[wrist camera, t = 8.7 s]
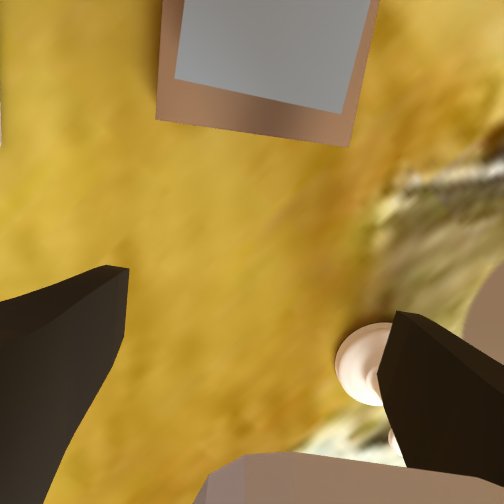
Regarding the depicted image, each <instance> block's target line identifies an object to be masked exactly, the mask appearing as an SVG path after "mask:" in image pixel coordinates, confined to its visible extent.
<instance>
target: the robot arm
mask: <svg viewBox="0 0 504 504" xmlns="http://www.w3.org/2000/svg"><path fill="white" fill-rule="evenodd" d="M0 147H1V103H0ZM128 280H129V268H122V267H116V266H110V265H104V266H100V267H97V268H94V269H91V270H89V271H86V272H84V273H81V274H79V275H76V276H74V277H71V278H69V279H66V280H64V281H61V282H59V283H56V284H54V285H51V286H48V287H45V288H42V289H39V290H36V291H33V292H31V293H28V294H25V295H22V296H19V297H15V298H12V299H8V300H5V301H1V302H0V504H43V502H44V500H45V497H46V495H47V493H48V490H49V488H50V485H51V483H52V481H53V479H54V476H55V474H56V472H57V469H58V467H59V465H60V462H61V460H62V458H63V455H64V453H65V451H66V449H67V447H68V445H69V443H70V441H71V439H72V437H73V435H74V433H75V432H76V430H77V428H78V426H79V425H80V423H81V421H82V419H83V418H84V416H85V414H86V412H87V411H88V409H89V407H90V405H91V403H92V402H93V400H94V398H95V396H96V395H97V393H98V391H99V389H100V388H101V386H102V384H103V382H104V381H105V379H106V377H107V375H108V373H109V372H110V370H111V368H112V366H113V363H114V361H115V358H116V356H117V353H118V351H119V348H120V346H121V343H122V340H123V338H124V330H125V318H126V305H127V293H128ZM377 379H378V384H379V389H380V394H381V398H382V402H383V406H384V409H385V412H386V415H387V417H388V420H389V422H390V425H391V428H392V430H393V433H394V436H395V438H396V441H397V443H398V446H399V448H400V451H401V454H402V456H403V459H404V461H405V464H406V466H407V468H406V467H399V466H391V465H384V464H377V463H370V462H363V461H356V460H349V459H341V458H334V457H327V456H320V455H313V454H306V453H298V452H291V451H290V452H274V453H259V454H246V455H244V456H242V457H240V458H238V459H236V460H234V461H233V462H231V463H229V464H227V465H225V466H224V467H222V468H220V469H218V470H216V471H214V472H213V473H211V474H209V475H208V477H207V479H206V481H205V483H204V484H203V486H202V488H201V490H200V492H199V493H198V495H197V497H196V499H195V500H194V502H193V504H504V365H502V364H501V363H499V362H497V361H496V360H494V359H492V358H491V357H489V356H488V355H486V354H484V353H483V352H481V351H479V350H478V349H476V348H475V347H473V346H472V345H470V344H469V343H467V342H465V341H464V340H462V339H461V338H459V337H458V336H456V335H455V334H453V333H451V332H450V331H448V330H447V329H445V328H444V327H442V326H440V325H439V324H437V323H435V322H434V321H432V320H430V319H428V318H426V317H424V316H422V315H419V314H414V313H408V312H402V311H396V314H395V317H394V320H393V324H392V327H391V330H390V333H389V336H388V339H387V343H386V346H385V349H384V352H383V355H382V358H381V362H380V365H379V368H378V371H377Z"/></svg>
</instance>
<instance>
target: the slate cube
mask: <svg viewBox="0 0 504 504" xmlns="http://www.w3.org/2000/svg"><path fill="white" fill-rule="evenodd" d="M370 2H371V0H185V3H184V10H183V18H182V25H181V33H180V40H179V48H178V55H177V63H176V70H175V78H174V79H179V80H183V81H188V82H193V83H197V84H202V85H207V86H211V87H216V88H221V89H225V90H230V91H235V92H239V93H244V94H248V95H253V96H258V97H262V98H267V99H272V100H276V101H281V102H286V103H290V104H295V105H300V106H304V107H309V108H314V109H318V110H323V111H327V112H332V113H337V114H341V113H342V109H343V105H344V102H345V98H346V94H347V90H348V86H349V82H350V78H351V75H352V71H353V67H354V63H355V59H356V55H357V52H358V48H359V44H360V40H361V36H362V32H363V29H364V25H365V21H366V17H367V13H368V9H369V6H370Z"/></svg>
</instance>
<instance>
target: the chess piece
mask: <svg viewBox="0 0 504 504" xmlns="http://www.w3.org/2000/svg"><path fill="white" fill-rule="evenodd" d="M392 324H393V323H375V324H370V325H367V326H364V327H362V328H360V329H358V330H356V331H355V332H353V333H352V334H351V335H349V336H348V337H347V338H346V339H345V340H344V342H343V343H342V344H341V346H340V348H339V350H338V352H337V355H336V359H335V371H336V375H337V377H338V379H339V381H340V383H341V385H342V387H343V388H344V390H345V391H346V392H347V393H348V394H349V395H350V396H351V397H352V398H354V399H355V400H357V401H359V402H362V403H364V404H368V405H374V406H383V402H382V398H381V394H380V389H379V384H378V379H377V371H378V368H379V365H380V362H381V358H382V355H383V352H384V349H385V346H386V343H387V339H388V336H389V333H390V330H391V327H392ZM388 441H389V444H390V446H391V448H392V449H393V450H394V451H395V452H396V453H397V454H398V455H400V456H402V454H401V451H400V448H399V446H398V443H397V441H396V438H395V436H394V433H393V430H392V428H391V430H390V432H389V435H388ZM402 457H403V456H402Z"/></svg>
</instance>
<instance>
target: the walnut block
mask: <svg viewBox="0 0 504 504" xmlns="http://www.w3.org/2000/svg"><path fill="white" fill-rule="evenodd" d="M379 1H380V0H371V2H370V6H369V9H368V13H367V17H366V21H365V25H364V29H363V32H362V36H361V40H360V44H359V48H358V52H357V55H356V59H355V63H354V67H353V71H352V75H351V78H350V82H349V86H348V90H347V94H346V98H345V102H344V105H343V109H342V113H341V114H337V113H332V112H327V111H323V110H318V109H314V108H309V107H304V106H300V105H295V104H290V103H286V102H281V101H276V100H272V99H267V98H262V97H258V96H253V95H248V94H244V93H239V92H235V91H230V90H225V89H221V88H216V87H211V86H207V85H202V84H197V83H193V82H188V81H183V80H179V79H174V78H175V70H176V63H177V55H178V48H179V40H180V33H181V25H182V18H183V10H184V3H185V0H163V4H162V21H161V37H160V53H159V70H158V86H157V102H156V119H155V120H162V121H169V122H176V123H182V124H189V125H196V126H203V127H210V128H217V129H224V130H231V131H238V132H245V133H252V134H259V135H266V136H273V137H280V138H287V139H294V140H301V141H308V142H315V143H322V144H328V145H335V146H342V147H349V143H350V139H351V134H352V129H353V125H354V120H355V115H356V110H357V106H358V101H359V96H360V91H361V87H362V82H363V77H364V72H365V68H366V63H367V58H368V53H369V49H370V44H371V39H372V34H373V30H374V25H375V20H376V16H377V11H378V6H379Z"/></svg>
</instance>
